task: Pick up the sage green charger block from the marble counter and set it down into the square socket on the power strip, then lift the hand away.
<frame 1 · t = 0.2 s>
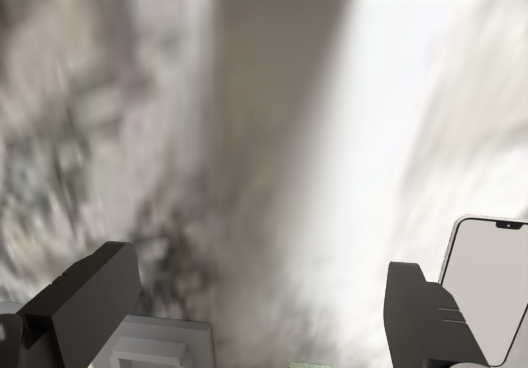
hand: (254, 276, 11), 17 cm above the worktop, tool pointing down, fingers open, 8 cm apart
smartphone: (479, 292, 30), on the worktop
power strip: (111, 354, 40), on the worktop
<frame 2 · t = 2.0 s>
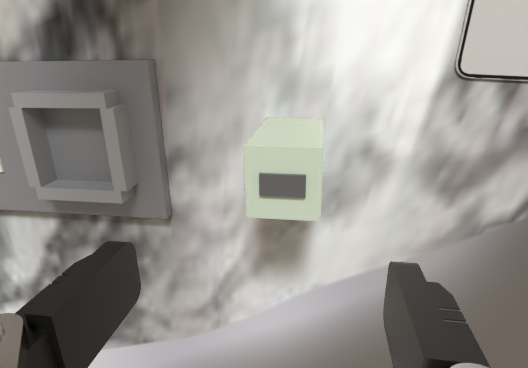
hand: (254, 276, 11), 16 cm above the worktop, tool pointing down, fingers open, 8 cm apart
charger block: (294, 145, 26), on the worktop
power strip: (24, 139, 29), on the worktop
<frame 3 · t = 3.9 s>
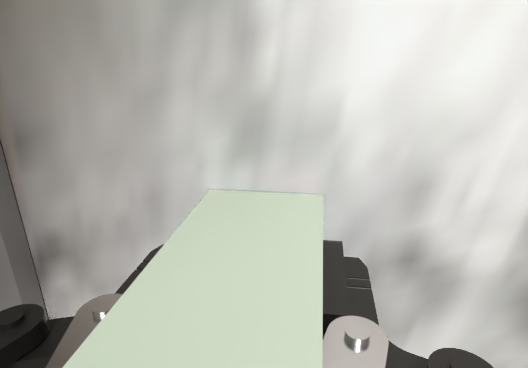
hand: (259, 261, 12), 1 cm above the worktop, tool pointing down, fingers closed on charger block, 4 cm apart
charger block: (265, 242, 13), on the worktop, touching gripper
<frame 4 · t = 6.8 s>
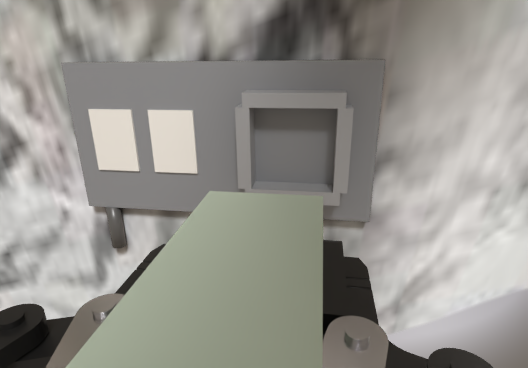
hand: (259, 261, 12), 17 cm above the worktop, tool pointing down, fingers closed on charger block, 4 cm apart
charger block: (265, 243, 13), point 16 cm above the worktop, touching gripper
power strip: (220, 140, 29), on the worktop
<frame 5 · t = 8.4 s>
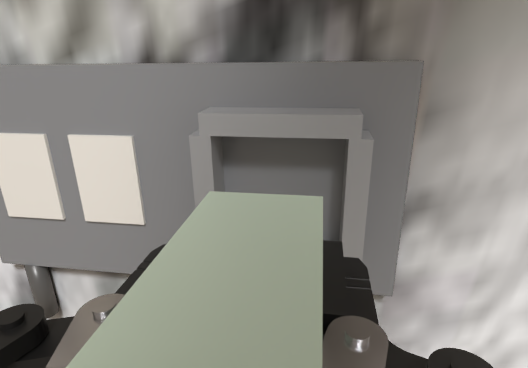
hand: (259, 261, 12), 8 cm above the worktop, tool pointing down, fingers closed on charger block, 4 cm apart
charger block: (265, 244, 13), point 6 cm above the worktop, touching gripper
power strip: (176, 176, 20), on the worktop
when the fingers open (3 cm above the worktop, at t = 9.7 s): charger block stays where it is, resting on power strip.
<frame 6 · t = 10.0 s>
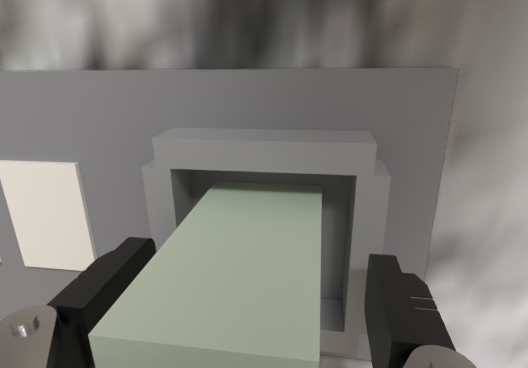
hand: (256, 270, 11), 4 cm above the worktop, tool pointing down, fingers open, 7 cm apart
charger block: (268, 231, 14), point 1 cm above the worktop, touching power strip
power strip: (138, 211, 16), on the worktop
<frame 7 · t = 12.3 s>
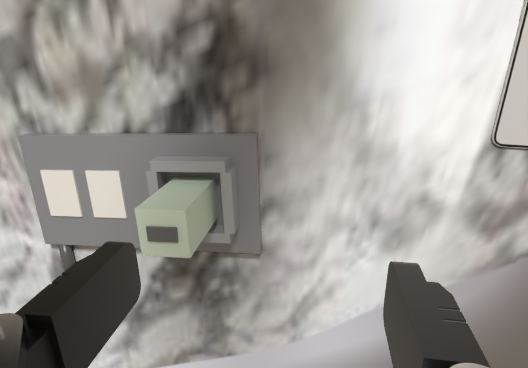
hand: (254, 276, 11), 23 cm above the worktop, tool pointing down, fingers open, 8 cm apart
charger block: (196, 196, 35), point 1 cm above the worktop, touching power strip
power strip: (144, 191, 37), on the worktop
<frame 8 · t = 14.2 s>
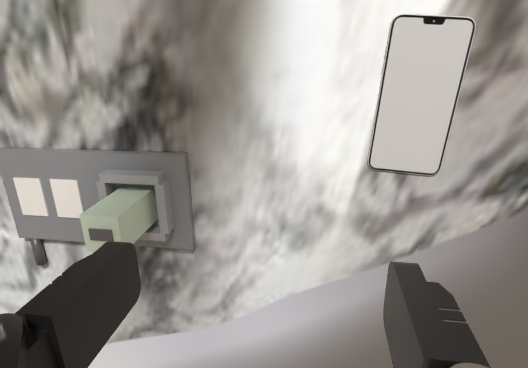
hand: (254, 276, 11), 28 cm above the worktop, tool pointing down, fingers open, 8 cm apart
charger block: (140, 202, 43), point 1 cm above the worktop, touching power strip
smartphone: (415, 99, 35), on the worktop
power strip: (98, 196, 44), on the worktop
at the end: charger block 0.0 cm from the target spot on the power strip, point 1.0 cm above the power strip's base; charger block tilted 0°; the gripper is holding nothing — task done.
